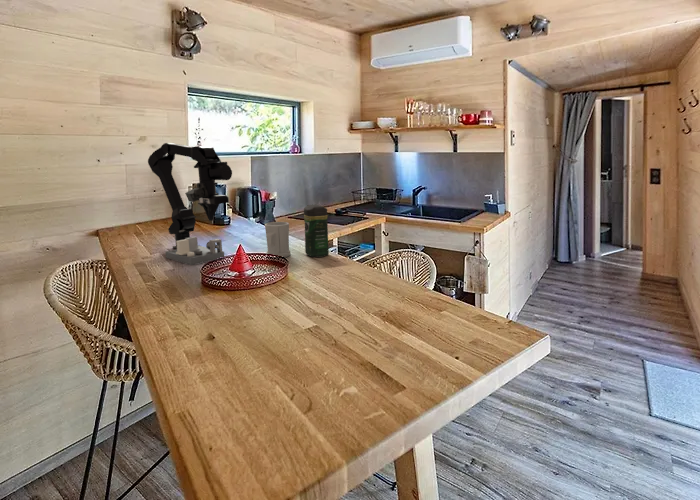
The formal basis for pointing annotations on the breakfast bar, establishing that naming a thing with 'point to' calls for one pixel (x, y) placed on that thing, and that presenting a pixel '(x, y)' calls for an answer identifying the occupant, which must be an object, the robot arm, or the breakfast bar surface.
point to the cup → (278, 238)
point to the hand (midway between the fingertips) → (210, 220)
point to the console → (198, 254)
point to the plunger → (209, 246)
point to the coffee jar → (316, 231)
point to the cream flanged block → (182, 247)
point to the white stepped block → (193, 244)
